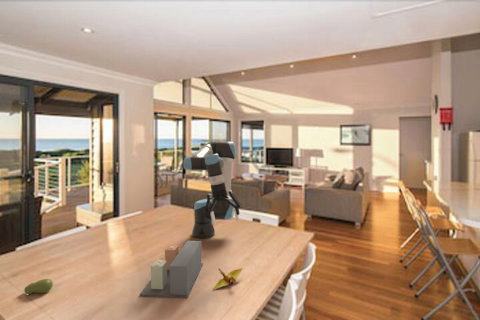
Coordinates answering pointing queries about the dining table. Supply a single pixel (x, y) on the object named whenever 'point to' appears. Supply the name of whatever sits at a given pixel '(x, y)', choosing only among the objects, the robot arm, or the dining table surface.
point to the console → (180, 273)
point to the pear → (39, 286)
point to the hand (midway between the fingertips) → (226, 222)
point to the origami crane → (227, 278)
